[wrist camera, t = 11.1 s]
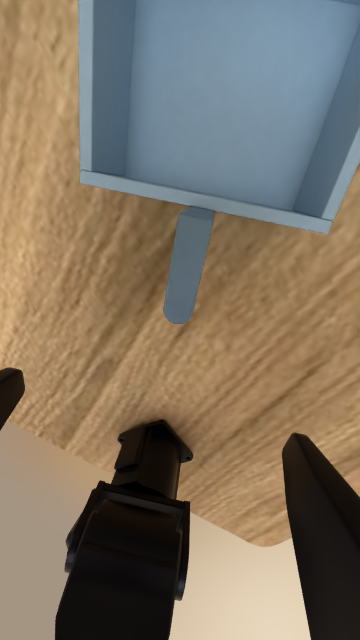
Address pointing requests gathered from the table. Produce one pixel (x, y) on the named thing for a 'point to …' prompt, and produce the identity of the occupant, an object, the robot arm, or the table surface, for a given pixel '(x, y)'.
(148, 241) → the table surface
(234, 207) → the drawer
